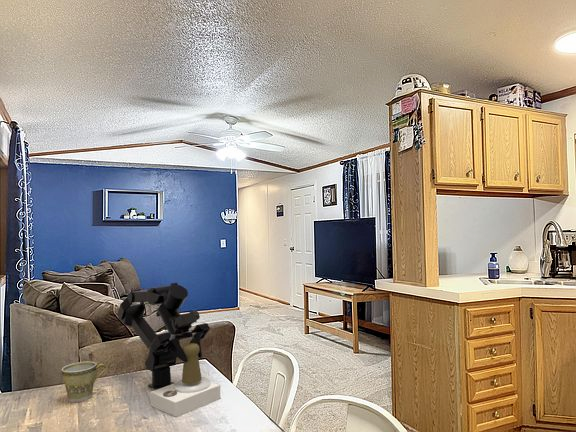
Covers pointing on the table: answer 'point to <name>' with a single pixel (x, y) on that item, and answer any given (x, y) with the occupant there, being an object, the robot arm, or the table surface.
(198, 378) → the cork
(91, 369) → the ceramic cup
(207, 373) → the table surface
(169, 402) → the kitchen scale
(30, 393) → the table surface
